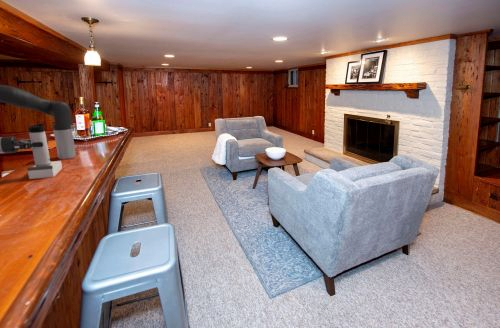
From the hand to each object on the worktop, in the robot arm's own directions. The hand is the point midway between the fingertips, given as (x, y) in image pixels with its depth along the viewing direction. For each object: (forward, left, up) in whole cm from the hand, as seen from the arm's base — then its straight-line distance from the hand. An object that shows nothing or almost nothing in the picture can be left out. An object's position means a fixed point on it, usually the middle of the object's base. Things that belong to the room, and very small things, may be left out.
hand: (45, 143), depth 144 cm
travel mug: (0, -2, -11) cm, 11 cm away
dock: (-2, -2, -16) cm, 16 cm away
